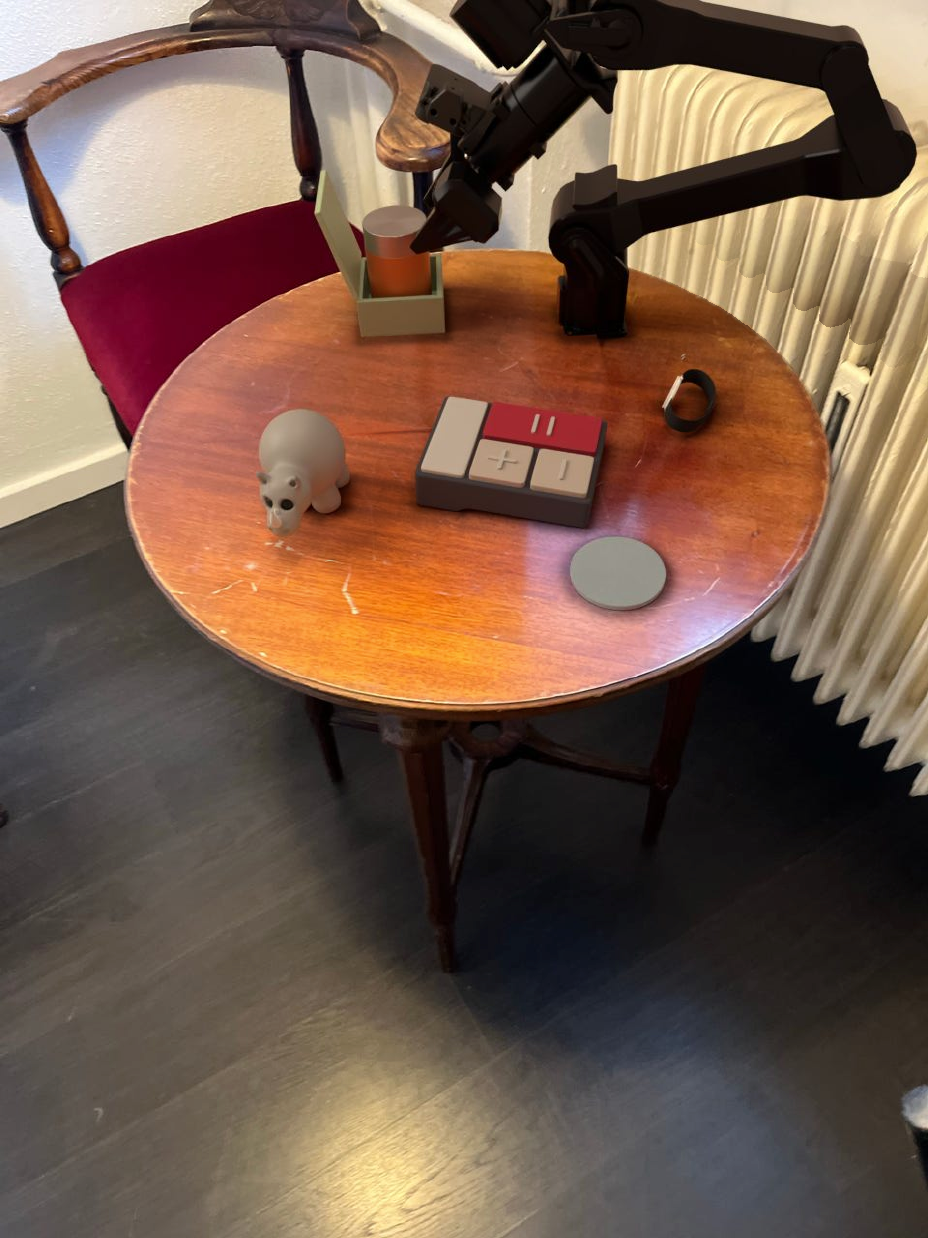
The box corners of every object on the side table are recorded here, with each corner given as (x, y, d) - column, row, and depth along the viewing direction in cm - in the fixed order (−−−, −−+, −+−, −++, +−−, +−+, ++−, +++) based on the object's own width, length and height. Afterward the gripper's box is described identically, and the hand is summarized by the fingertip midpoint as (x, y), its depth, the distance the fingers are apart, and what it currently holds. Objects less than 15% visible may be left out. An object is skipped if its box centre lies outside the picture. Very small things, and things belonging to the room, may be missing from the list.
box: (443, 292, 99) (441, 252, 96) (445, 337, 94) (442, 297, 90) (364, 296, 99) (359, 257, 96) (361, 341, 94) (356, 302, 90)
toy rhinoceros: (240, 559, 74) (214, 482, 68) (287, 464, 82) (268, 387, 75) (323, 569, 73) (304, 493, 67) (362, 473, 81) (349, 395, 74)
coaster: (656, 538, 74) (657, 533, 74) (673, 608, 69) (674, 603, 69) (565, 542, 74) (565, 538, 74) (575, 613, 69) (576, 609, 69)
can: (433, 293, 98) (426, 202, 90) (434, 326, 94) (427, 234, 86) (374, 296, 98) (362, 206, 90) (372, 329, 94) (360, 238, 86)
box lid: (326, 168, 88) (320, 170, 89) (320, 211, 83) (314, 213, 83) (361, 253, 95) (356, 255, 96) (358, 297, 90) (352, 299, 90)
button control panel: (592, 497, 72) (413, 467, 74) (586, 534, 75) (414, 504, 77) (609, 413, 79) (445, 387, 81) (603, 450, 82) (445, 425, 84)
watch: (673, 383, 87) (679, 351, 84) (721, 394, 86) (728, 362, 83) (651, 431, 83) (656, 398, 80) (701, 442, 81) (708, 410, 79)
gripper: (479, -3, 81) (373, 125, 90) (454, 77, 69) (336, 214, 79) (562, 92, 86) (454, 203, 96) (551, 181, 74) (430, 298, 84)
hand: (420, 226), depth 88 cm, fingers open, 9 cm apart
